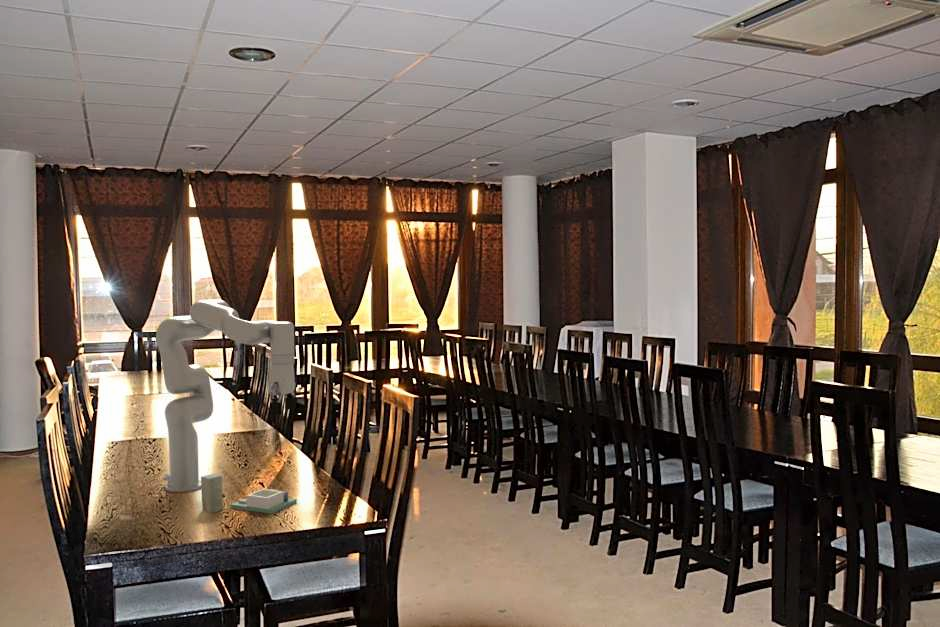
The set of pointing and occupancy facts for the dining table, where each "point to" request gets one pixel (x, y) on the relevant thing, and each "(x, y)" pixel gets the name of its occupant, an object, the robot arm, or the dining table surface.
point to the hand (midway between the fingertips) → (283, 411)
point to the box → (212, 493)
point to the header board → (243, 506)
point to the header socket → (265, 498)
